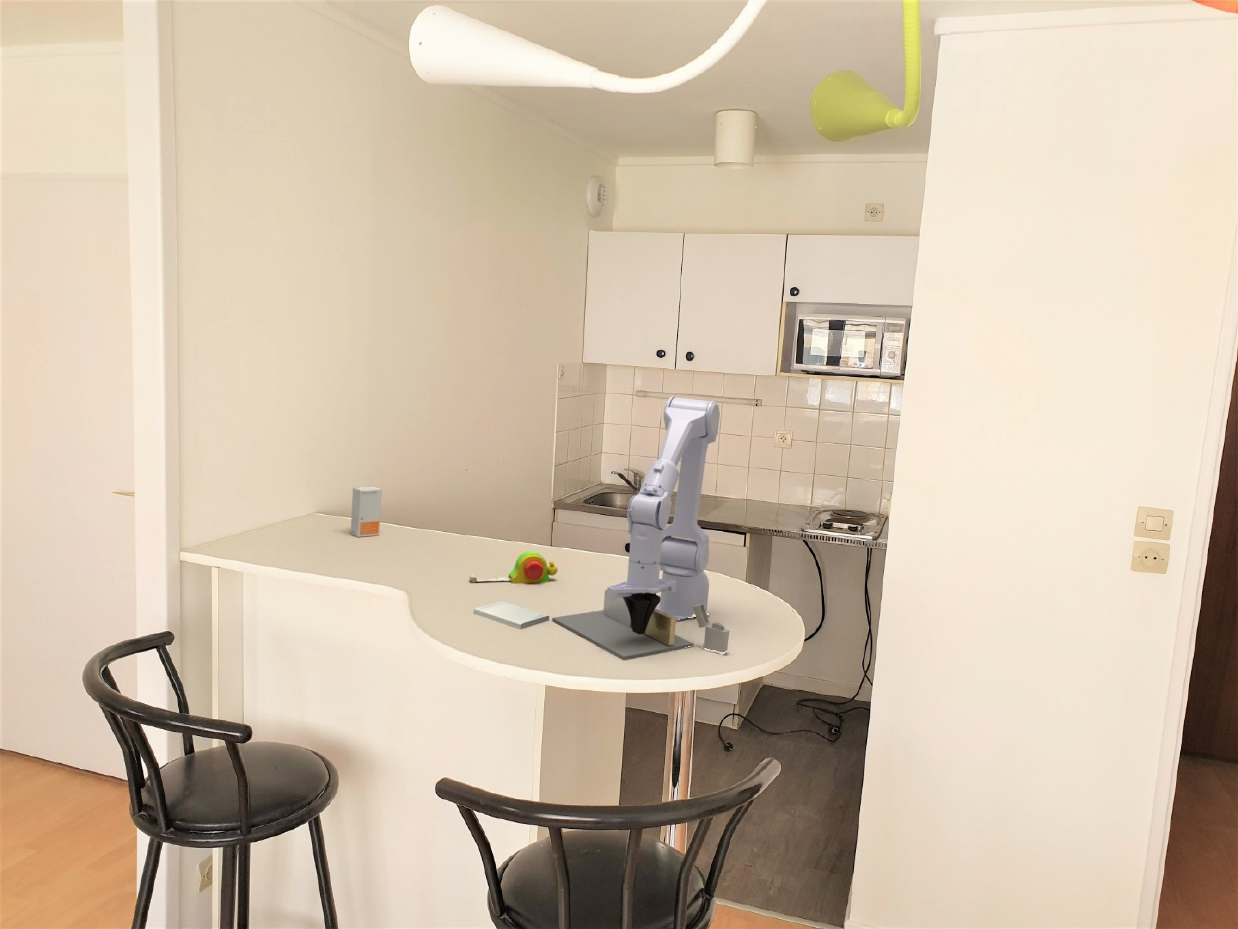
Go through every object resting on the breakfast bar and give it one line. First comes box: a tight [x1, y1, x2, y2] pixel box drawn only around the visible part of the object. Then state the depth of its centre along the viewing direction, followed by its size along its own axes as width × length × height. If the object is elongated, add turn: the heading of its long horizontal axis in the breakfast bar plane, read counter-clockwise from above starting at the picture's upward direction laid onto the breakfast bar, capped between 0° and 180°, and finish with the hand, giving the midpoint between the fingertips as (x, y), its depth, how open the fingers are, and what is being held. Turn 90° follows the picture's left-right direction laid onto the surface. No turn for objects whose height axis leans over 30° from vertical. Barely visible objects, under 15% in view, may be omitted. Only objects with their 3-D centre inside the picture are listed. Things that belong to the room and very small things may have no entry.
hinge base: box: [551, 589, 694, 661], centre depth 175 cm, size 16×23×6 cm
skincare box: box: [350, 486, 383, 538], centre depth 235 cm, size 6×4×12 cm
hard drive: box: [473, 600, 550, 630], centre depth 180 cm, size 2×8×12 cm
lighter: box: [693, 603, 730, 652], centre depth 170 cm, size 7×2×8 cm, turn 54°
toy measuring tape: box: [469, 550, 559, 584], centre depth 204 cm, size 6×20×7 cm, turn 109°
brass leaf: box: [645, 609, 677, 645], centre depth 172 cm, size 11×2×5 cm, turn 37°
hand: (638, 632), depth 170 cm, fingers closed
